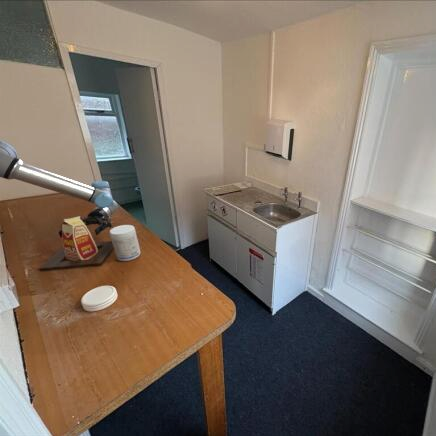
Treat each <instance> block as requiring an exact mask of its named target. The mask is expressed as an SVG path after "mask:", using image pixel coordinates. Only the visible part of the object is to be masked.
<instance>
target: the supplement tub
mask: <svg viewBox="0 0 436 436" xmlns="http://www.w3.org/2000/svg"><path fill="white" fill-rule="evenodd" d="M136 231H137V230H136V229H135V226H134V225H131V224H122V225H118V226H117V225H116V226H114V227H112V228H110V230H109V235H110V239H111V240H110V241H112V243H113V246H114V252H115V255H116V258H117V260H118V261H121V262H129V261H130V262H131V261H133V260H135V259H138V258H139V256H140V255H141V248H140V244H139V240H138V235H137V232H136Z"/></svg>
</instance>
